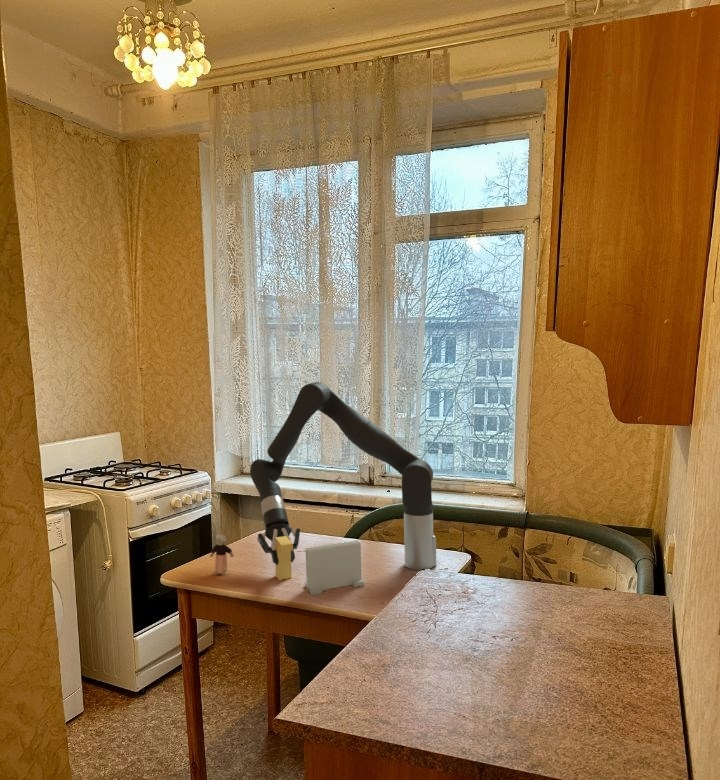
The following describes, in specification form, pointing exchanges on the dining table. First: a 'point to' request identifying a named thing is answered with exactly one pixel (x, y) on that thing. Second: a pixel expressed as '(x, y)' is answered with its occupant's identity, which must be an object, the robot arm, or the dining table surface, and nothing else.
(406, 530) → the robot arm
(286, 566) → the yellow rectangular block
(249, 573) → the dining table surface
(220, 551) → the grandmother figurine
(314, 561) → the wall board
